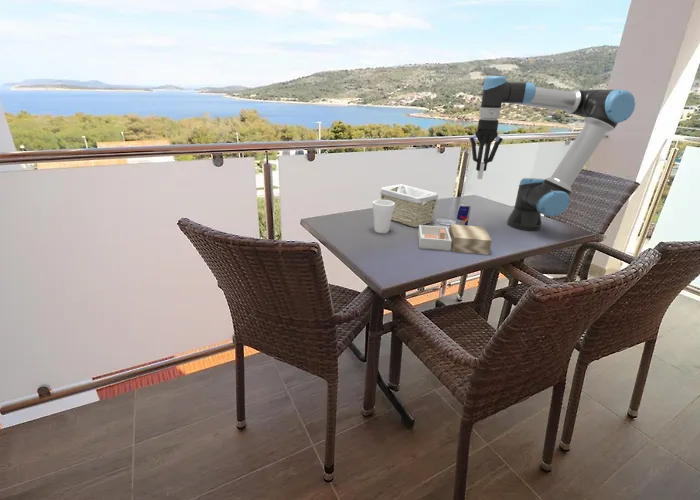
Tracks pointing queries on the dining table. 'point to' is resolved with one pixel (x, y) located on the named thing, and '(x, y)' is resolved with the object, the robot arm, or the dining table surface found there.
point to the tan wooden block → (469, 239)
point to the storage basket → (410, 204)
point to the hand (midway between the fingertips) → (479, 178)
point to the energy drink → (463, 214)
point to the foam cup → (382, 215)
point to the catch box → (433, 243)
